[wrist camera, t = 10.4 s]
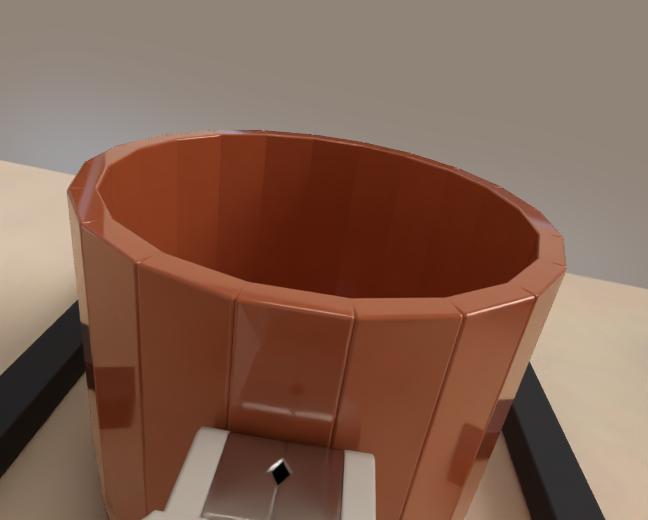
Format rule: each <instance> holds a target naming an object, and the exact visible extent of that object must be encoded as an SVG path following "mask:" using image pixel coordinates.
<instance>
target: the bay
mask: <svg viewBox="0 0 648 520" xmlns="http://www.w3.org/2000/svg"><path fill="white" fill-rule="evenodd" d="M85 369H86V368H85V358H84V349H83V340H82V330H81V321H80V312H79V302H78V300H77V301H76V302H75V303H74V304H73V305H72V306H71V307H70V308H69V309H68V310H67V311H66V312H65V313H64V314H63V315H62V316H61V317H60V318H59V319H58V320H57V321H56V322H55V323H54V324H53V325H51V326H50V327H49V328H48V329H47V330H46V331H45V332H44V333H43V334H42V335H41V336H40V337H39V338H38V339H37V340H36V341H35V342H34V343H33V344H32V345H31V346H30V347H29V348H28V349H27V350H26V351H25V352H24V353H23V354H22V355H21V356H20V357H19V358H18V359H17V360H16V361H15V362H14V363H13V364H12V365H11V366H10V367H9V368H8V369H7V370H6V371H5V372H4V373H3V374H2V375H1V376H0V476H1V475H2V474H3V472H4V471H5V470H6V469H7V467H8V466H9V465H10V464H11V462H12V461H13V460H14V458H15V457H16V456H17V455H18V453H19V452H20V451H21V450H22V448H23V447H24V446H25V445H26V443H27V442H28V441H29V440H30V438H31V437H32V436H33V435H34V433H35V432H36V431H37V430H38V428H39V427H40V426H41V425H42V423H43V422H44V421H45V420H46V418H47V417H48V416H49V415H50V413H51V412H52V411H53V409H54V408H55V407H56V406H57V404H58V403H59V402H60V401H61V399H62V398H63V397H64V396H65V394H66V393H67V392H68V391H69V389H70V388H71V387H72V386H73V384H74V383H75V382H76V381H77V379H78V378H79V377H80V376H81V374H82V373H83V372H84V371H85ZM502 429H503V432H504V435H505V438H506V441H507V444H508V447H509V450H510V453H511V456H512V459H513V461H514V464H515V467H516V470H517V473H518V476H519V479H520V482H521V485H522V488H523V491H524V494H525V497H526V500H527V503H528V506H529V509H530V512H531V515H532V518H533V520H605V518H604V516H603V514H602V512H601V510H600V508H599V505H598V503H597V501H596V499H595V497H594V495H593V493H592V491H591V489H590V487H589V485H588V483H587V480H586V478H585V476H584V474H583V472H582V470H581V468H580V466H579V464H578V462H577V460H576V457H575V455H574V453H573V451H572V449H571V447H570V445H569V443H568V441H567V439H566V437H565V434H564V432H563V430H562V428H561V426H560V424H559V422H558V420H557V418H556V416H555V414H554V412H553V409H552V407H551V405H550V403H549V401H548V399H547V397H546V395H545V393H544V391H543V389H542V386H541V384H540V382H539V380H538V378H537V376H536V374H535V372H534V370H533V368H532V366H531V364H530V361H529V363H528V366H527V368H526V370H525V373H524V375H523V378H522V380H521V383H520V385H519V388H518V390H517V392H516V395H515V397H514V400H513V402H512V405H511V407H510V410H509V412H508V414H507V417H506V419H505V422H504V424H503V427H502Z"/></svg>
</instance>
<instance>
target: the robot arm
mask: <svg viewBox="0 0 648 520" xmlns="http://www.w3.org/2000/svg"><path fill="white" fill-rule="evenodd" d="M142 520H376V494H375V458H374V456H373V454H369V453H363V452H356V451H350V450H344V451H343V449H339V448H333V447H326V446H319V445H313V444H306V443H299V442H293V441H282V440H277V439H271V438H266V437H261V436H256V435H250V434H245V433H240V432H235V431H227V430H222V429H216V428H211V427H206V426H202V427H201V428H200V429H199V431H198V432H197V433H196V435H195V438H194V440H193V443H192V445H191V447H190V450H189V452H188V454H187V457H186V459H185V462H184V464H183V466H182V469H181V471H180V474H179V476H178V478H177V481H176V483H175V485H174V488H173V490H172V493H171V495H170V497H169V500H168V502H167V504H166V507H165V509H164V511H158V510H154V511H152V512H151V513H150V514H149V515H147V516H146V517H145V518H143V519H142Z"/></svg>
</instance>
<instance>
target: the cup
mask: <svg viewBox="0 0 648 520" xmlns="http://www.w3.org/2000/svg"><path fill="white" fill-rule="evenodd" d="M67 200H68V209H69V218H70V228H71V237H72V246H73V256H74V265H75V274H76V284H77V293H78V302H79V312H80V321H81V330H82V340H83V349H84V358H85V368H86V377H87V386H88V396H89V405H90V414H91V423H92V433H93V442H94V451H95V458H96V462H97V466H98V470H99V479H100V487H101V492H102V497H103V501H104V506H105V509H106V512H107V514H108V517H109V519H110V520H142V519H143V518H145V517H146V516H147V515H149V514H150V513H151V512H152V511H154V510H158V511H164V509H165V507H166V504H167V502H168V500H169V497H170V495H171V493H172V490H173V488H174V485H175V483H176V481H177V478H178V476H179V474H180V471H181V469H182V466H183V464H184V462H185V459H186V457H187V454H188V452H189V450H190V447H191V445H192V443H193V440H194V438H195V435H196V433H197V432H198V431H199V429H200V428H201V427H202V426H206V427H211V428H216V429H222V430H227V431H235V432H240V433H245V434H250V435H256V436H261V437H266V438H271V439H277V440H282V441H293V442H299V443H306V444H313V445H319V446H326V447H333V448H339V449H343V451H344V450H350V451H356V452H363V453H369V454H373V456H374V458H375V494H376V520H464V518H465V517H466V515H467V512H468V510H469V507H470V505H471V502H472V500H473V497H474V495H475V493H476V490H477V488H478V485H479V483H480V480H481V478H482V475H483V473H484V471H485V468H486V466H487V463H488V461H489V458H490V456H491V453H492V451H493V449H494V446H495V444H496V441H497V439H498V436H499V434H500V431H501V429H502V427H503V424H504V422H505V419H506V417H507V414H508V412H509V410H510V407H511V405H512V402H513V400H514V397H515V395H516V392H517V390H518V388H519V385H520V383H521V380H522V378H523V375H524V373H525V370H526V368H527V366H528V363H529V361H530V358H531V356H532V353H533V351H534V348H535V346H536V344H537V341H538V339H539V336H540V334H541V331H542V329H543V326H544V324H545V322H546V319H547V317H548V314H549V312H550V309H551V307H552V304H553V302H554V300H555V297H556V295H557V292H558V290H559V287H560V285H561V282H562V280H563V278H564V275H565V273H566V269H567V268H566V258H565V247H564V239H563V237H562V236H561V234H560V233H559V232H558V231H557V230H556V229H555V228H554V227H553V225H551V223H550V222H549V221H548V220H547V219H546V218H545V216H543V214H542V213H541V212H540V211H538V210H537V209H535V208H534V207H532V206H531V205H529V204H527V203H526V202H524V201H523V200H521V199H519V198H518V197H516V196H515V195H513V194H512V193H510V192H508V191H507V190H505V189H504V188H502V187H500V186H498V185H496V184H493V183H491V182H488V181H486V180H484V179H482V178H480V177H477V176H475V175H473V174H471V173H468V172H466V171H463V170H461V169H457V168H455V167H452V166H449V165H446V164H443V163H440V162H437V161H434V160H430V159H427V158H424V157H421V156H418V155H414V154H411V153H408V152H403V151H399V150H394V149H390V148H386V147H381V146H377V145H373V144H369V143H363V142H358V141H352V140H346V139H338V138H333V137H326V136H320V135H311V134H300V133H289V132H277V131H262V130H213V131H212V130H208V131H198V132H187V133H176V134H166V135H160V136H156V137H151V138H147V139H143V140H138V141H134V142H130V143H126V144H122V145H118V146H116V147H114V148H112V149H110V150H108V151H106V152H104V153H102V154H100V155H98V156H96V157H94V158H92V159H90V160H88V161H86V162H85V163H84V164H83V166H82V167H81V169H80V170H79V172H78V173H77V175H76V176H75V178H74V179H73V181H72V183H71V184H70V186H69V187H68V189H67Z"/></svg>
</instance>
